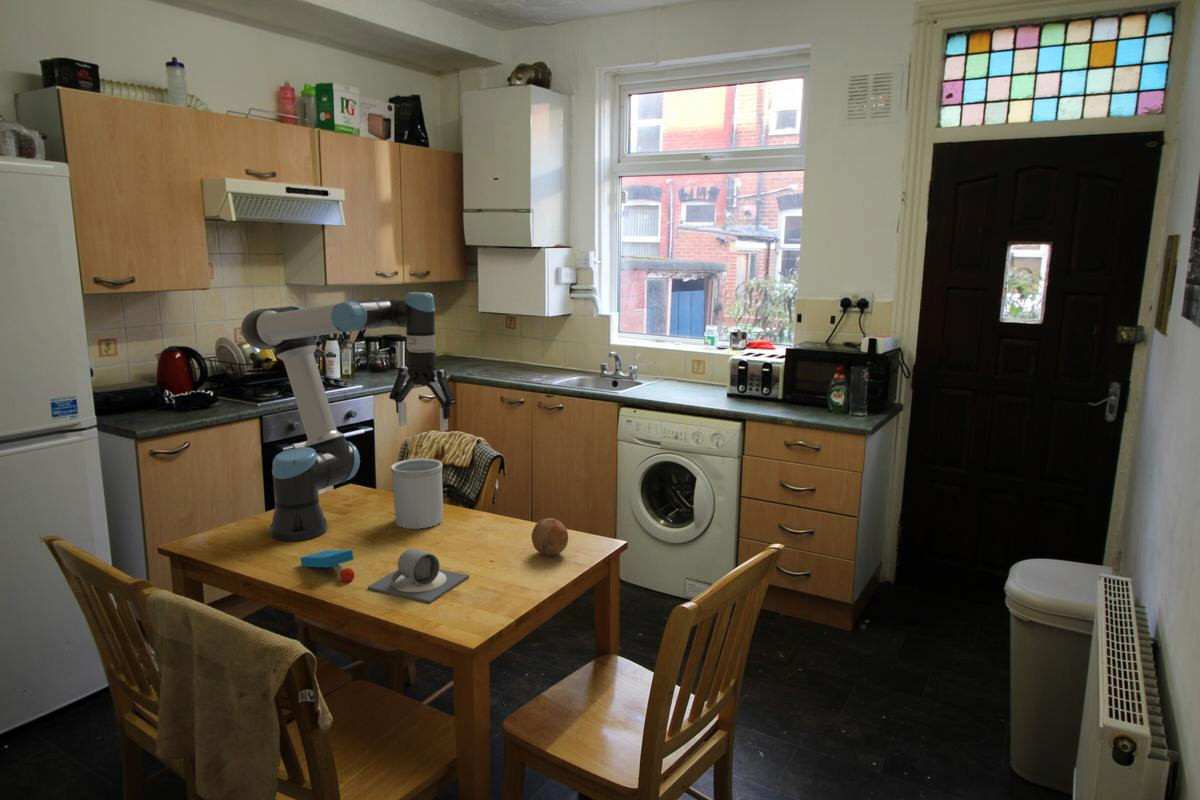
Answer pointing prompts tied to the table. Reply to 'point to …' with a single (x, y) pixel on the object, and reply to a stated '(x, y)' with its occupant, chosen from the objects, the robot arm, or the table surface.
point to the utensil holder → (418, 493)
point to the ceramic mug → (416, 568)
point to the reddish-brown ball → (549, 537)
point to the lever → (331, 561)
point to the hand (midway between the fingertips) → (423, 427)
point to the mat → (417, 592)
